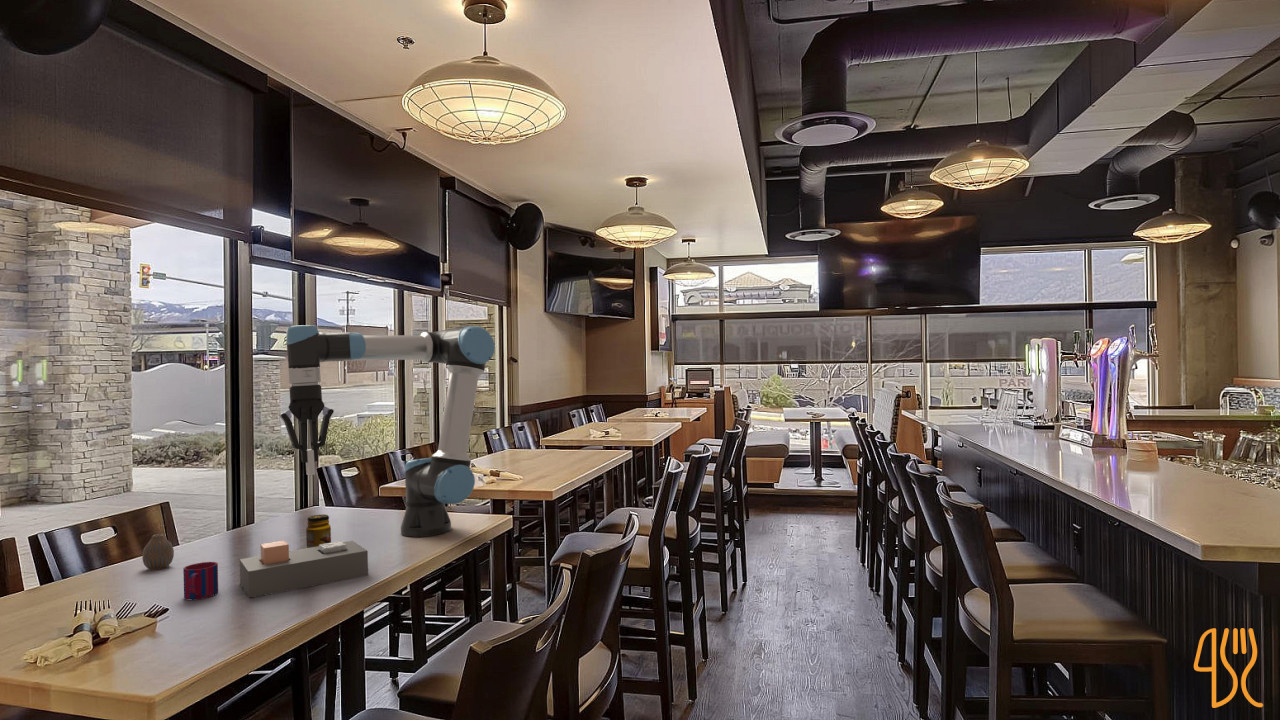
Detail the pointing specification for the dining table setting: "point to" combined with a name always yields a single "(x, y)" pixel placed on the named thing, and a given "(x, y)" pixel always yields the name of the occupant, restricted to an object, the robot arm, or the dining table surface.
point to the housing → (302, 569)
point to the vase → (158, 553)
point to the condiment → (318, 530)
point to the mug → (200, 580)
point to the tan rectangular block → (274, 552)
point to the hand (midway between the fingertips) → (310, 474)
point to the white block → (332, 547)
